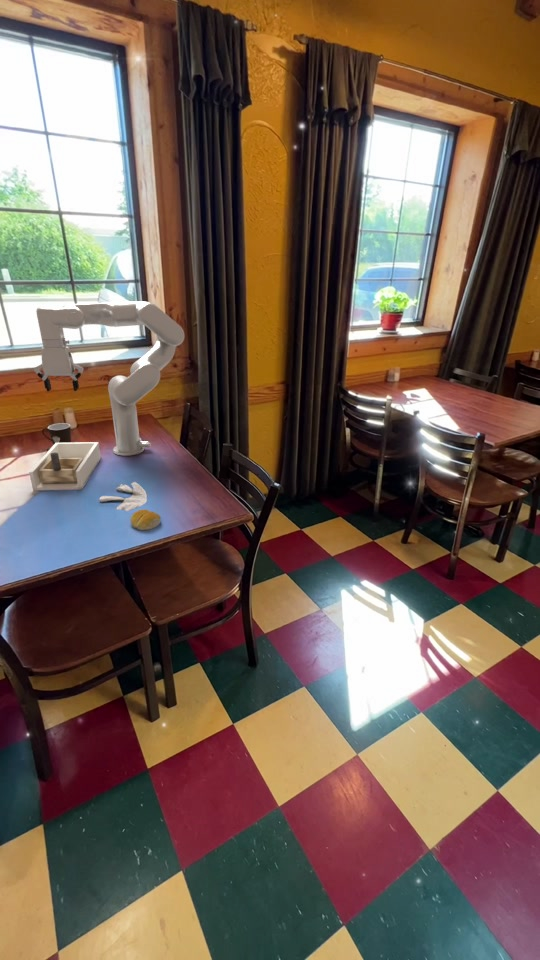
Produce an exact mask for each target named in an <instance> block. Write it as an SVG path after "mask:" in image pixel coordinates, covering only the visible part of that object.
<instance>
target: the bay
mask: <svg viewBox="0 0 540 960" xmlns="http://www.w3.org/2000/svg"><path fill="white" fill-rule="evenodd" d="M100 449H101V448H100V443H99V441H98V442H97V441H96V442H95V441H94V442H93V441H92V442H91V441H90V442H89V441H88V442H87V441H86V442H83V441H82V442H80V441H79V442H77V441H75V442H72V441H71V443H55V444H54V445H53V444H52V446H51V447H50V448H49V449H48V451H47V452H45V454H44V455H43V456H42V457H41V458H40V459H39V461H38V462H37V463H36V464H34V466H33V467H32V468H31V470H29V472H28V473H29V478H30V481H31V487H32V491H65V490H67V491H70V490H73V491H74V490H83V488H84V487H85V485H86V484H87V482H88V481H89V479H90V477H91V476H92V474H93V472H94V470H95V469H96V468H97V466H98V464H99V462H100V461H101V459H102V456H101V455H102V454H101V451H100ZM51 453H58V456H59V458H83V459H84V460H83V461H82V463H81V464H80V465H79V467H78V468H77V470H76V471H75V472H76V477H77V483H43V484H42V483H41V478H40V474H39V470H40V469H41V468H42V466H43V465H44V464H45V463H46V462H47V461H48V459H49V458H51V455H50V454H51Z"/></svg>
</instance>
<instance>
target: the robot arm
mask: <svg viewBox="0 0 540 960" xmlns="http://www.w3.org/2000/svg"><path fill="white" fill-rule="evenodd" d="M35 311H36V318H37V322H38V327H39V333H40V337H41V341H42V347H41V363H40V364H39V365H37V366H35V367H34V368H33V372H35V373H36V376H38V377H39V378H40V379H41V380H42V381H43V383H44V388H45V389H46V392H50V391H51V390H52V384H51V380H50V379H49V377H50V376H52V377H54V376H56V377H58V376H60V377H61V376H63V377H64V376H69V377H70V378H71V379H72V386H73V391H74V392H77V391H78V390H79V388H80V384H79V378H80V377H81V376H82V375H83V371H84V370H85V369H84V367H82V366H80V365H78V364H75V363H74V359H73V356H72V352H71V350H70V347H69V346H67V345H70V340H67V339H66V338H65V332H64V329H70V330H78V329H80V328H82V327H83V326H84V325H86V326H87V325H100V326H104V327H105V326H106V327H115V328H116V327H117V328H118V327H129V326H132V327H133V326H145V327H146V328H148V330H150V331H151V332H153V334H155V336H156V340H155V343H154V345H153V347H151V349H149V350H148V351H147V352H146V353H145V354H144V355H142V356H141V357H140V358H139V359H137V360H136V361H134V362H133V363H132V365H131V366H130V371H129V372H130V375H128V376H124V375H121V374H119V375H115V376H114V377H112V378H111V379H110V380H109V382H108V385H107V387H108V388H107V391H108V396H109V401H110V406H111V412H112V421H113V427H114V429H113V430H114V435H115V443H116V446H114V447H113V449H112V450H113V453H114V454H116V455H117V456H122V457H124V456H125V457H127V456H134V455H135V456H136V455H139V454H141V453H142V452H144V451H145V448H151V447H152V446H151V444H152V443H151V442H149V441H148V440H147V441H145V440H144V441H143V440H142V438H141V437H140V433H139V432H140V431H139V424H138V423H139V421H138V413H137V412H138V411H137V405H136V403H138V402H139V401H140V400H142V399H143V398H144V397H145V396H146V395H147V394H148V393H150V392H151V391H152V390H154V388H156V387H157V385H158V384H159V382H160V380H161V372H160V371H162V370H163V369H164V368H165V367H166V366H167V365H168V364H169V363H170V362H171V361H172V360H173V357H174V356H175V353H176V348H177V347H178V346H180V345H182V343H183V342H184V340H185V332H184V329H183V328H182V326H181V325H180V324H178V323H177V322H176V321H175V320H174V319H173V318H172V317H170V316H169V315H168V314H167V313H166V312H164V311H163V310H162V309H161V308H160V307H158V306H157V305H156V304H155V303H153V302H149V301H143V300H142V301H141V300H140V301H138V300H137V301H121V302H120V301H119V302H118V301H117V302H116V301H115V302H100V303H99V302H98V303H95V302H94V303H72V304H70V303H69V304H65V305H63V306H62V307H59V308H58V307H56V306H40V307H37V309H36V310H35ZM41 369H42V370H43V372H41ZM76 370H78V371H77V374H76V373H75V371H76Z"/></svg>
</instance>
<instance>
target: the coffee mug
mask: <svg viewBox="0 0 540 960" xmlns="http://www.w3.org/2000/svg"><path fill="white" fill-rule="evenodd" d="M45 430H47V431H48V434H49V436H50V437H49V436H47V435H46V434H45ZM41 432H42V433H41V434H42V435H43V436H44V437H45V438H46V439H47V440H49V441H50V442H52V446H53V445H54V444H55V443H72V433H71V432H72V431H71V424H69V423H65V422H61V423H59V422H58V423H53V424H51V425H48V427H47V428H46V427H44V428H43V429H42V430H41Z"/></svg>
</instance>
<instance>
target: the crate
mask: <svg viewBox="0 0 540 960" xmlns="http://www.w3.org/2000/svg"><path fill="white" fill-rule="evenodd" d="M50 455H51V458H49V459H48V461H47V462H46V463H45V464H44V465H43V466H42V468H41V469H40V470H39V474H40V478H41V483H42V484H43V483H77V477H76V472H75V471H76V470H77V468H78V467H79V465H80V464H81V463H82V461H83V460H84V459H83V458H59V456H58V453H51V454H50Z"/></svg>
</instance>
